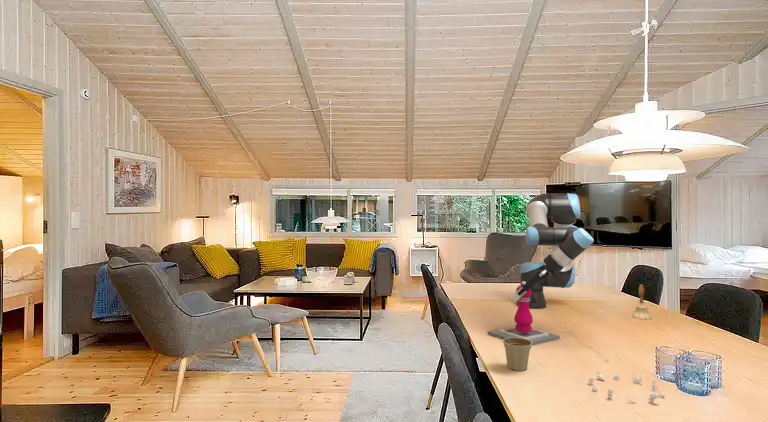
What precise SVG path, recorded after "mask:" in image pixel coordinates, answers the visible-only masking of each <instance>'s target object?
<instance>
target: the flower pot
mask: <svg viewBox="0 0 768 422" xmlns="http://www.w3.org/2000/svg"><path fill="white" fill-rule="evenodd" d="M502 343H503V346H504V350H505V358H506V365H507V366H506V367H507V368H508V369H509V370H514V371H515V372H516V371H519V372H522V371H526V370H527V369H528V364H529V358H530V350H531V349H532V346H533V345H532V344H533V343H532V342H531V341H530V340H527V339H523V338H506V339H502ZM531 345H532V346H531Z"/></svg>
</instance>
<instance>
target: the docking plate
mask: <svg viewBox="0 0 768 422" xmlns="http://www.w3.org/2000/svg"><path fill="white" fill-rule="evenodd" d="M515 326H516V325H515ZM515 326H509V327H504V328H497V329H494V330H488V331H487V335H489V336H492V337H495V338H498V339H501V340H503V339H506V338H523V339H527V340H530V341H531V342H532V343H533V344H532V345H531V347H533V346H536V345H540V344H544V343H549V342H554V341H557V340H560V339H561V336H560V335H558V334H555V333H550V332H547V331H544V330H540V329H535V328H534V327H531V332H519V331H516V329H515Z"/></svg>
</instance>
